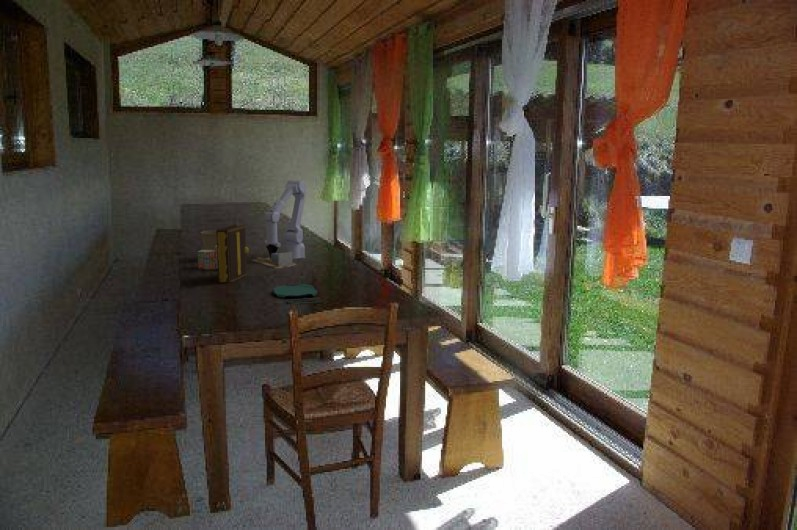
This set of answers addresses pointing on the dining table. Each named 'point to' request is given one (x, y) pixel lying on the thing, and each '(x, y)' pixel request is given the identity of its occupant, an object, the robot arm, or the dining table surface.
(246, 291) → the dining table surface
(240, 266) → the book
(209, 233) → the plant pot
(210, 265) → the stack of blocks
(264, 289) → the dining table surface
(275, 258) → the blue-grey rectangular block
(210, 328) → the dining table surface
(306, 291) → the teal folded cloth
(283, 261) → the shelf slot
